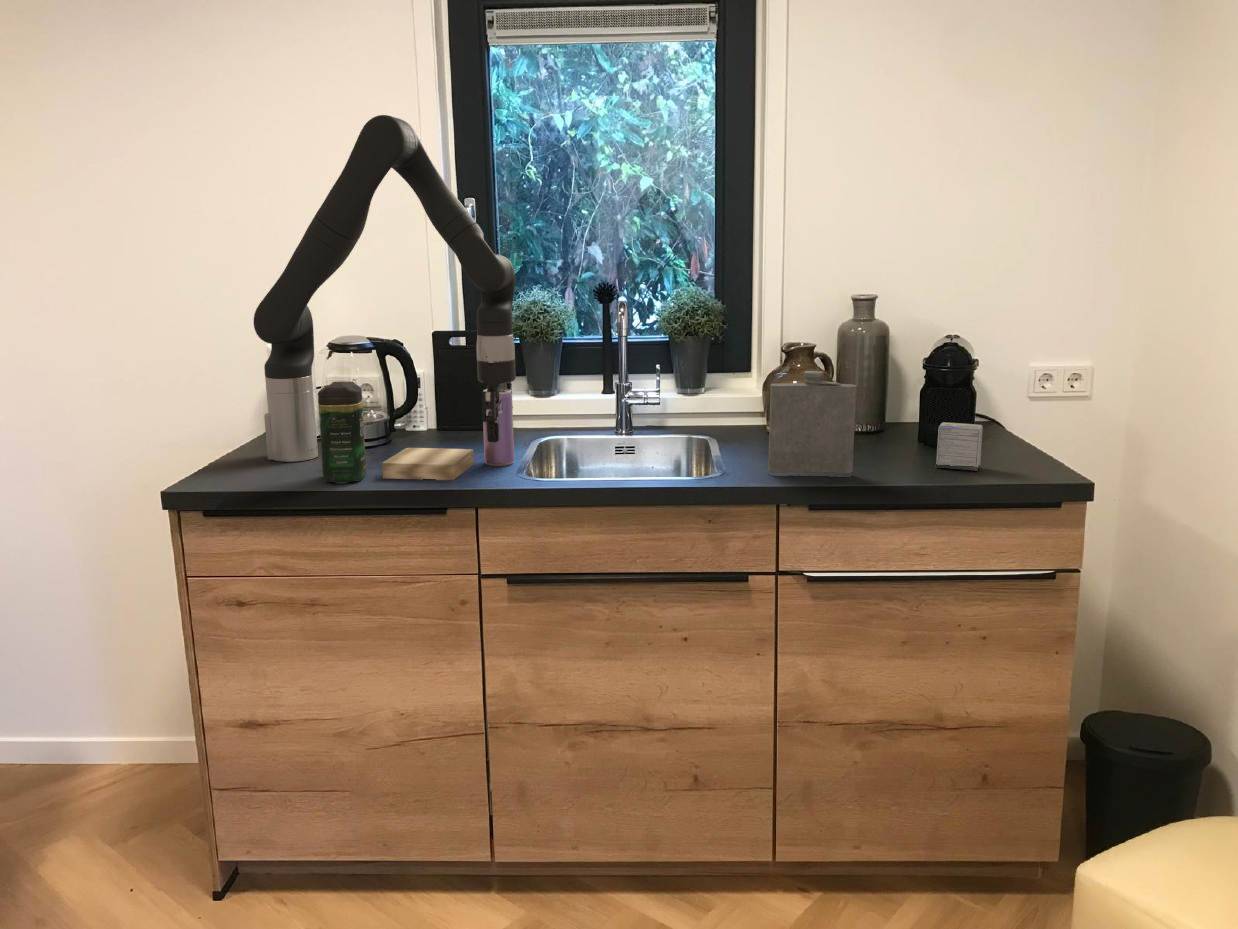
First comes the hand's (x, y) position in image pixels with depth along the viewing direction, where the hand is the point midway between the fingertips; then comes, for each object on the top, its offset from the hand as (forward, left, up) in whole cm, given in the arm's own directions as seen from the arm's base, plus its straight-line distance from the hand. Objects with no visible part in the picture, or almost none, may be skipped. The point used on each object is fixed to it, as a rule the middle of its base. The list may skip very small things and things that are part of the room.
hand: (498, 437), depth 205 cm
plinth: (-12, -8, -5) cm, 15 cm away
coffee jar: (-26, -16, -6) cm, 31 cm away
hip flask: (+62, -2, -6) cm, 62 cm away
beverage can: (0, 0, -6) cm, 6 cm away
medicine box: (+91, +7, -6) cm, 91 cm away
